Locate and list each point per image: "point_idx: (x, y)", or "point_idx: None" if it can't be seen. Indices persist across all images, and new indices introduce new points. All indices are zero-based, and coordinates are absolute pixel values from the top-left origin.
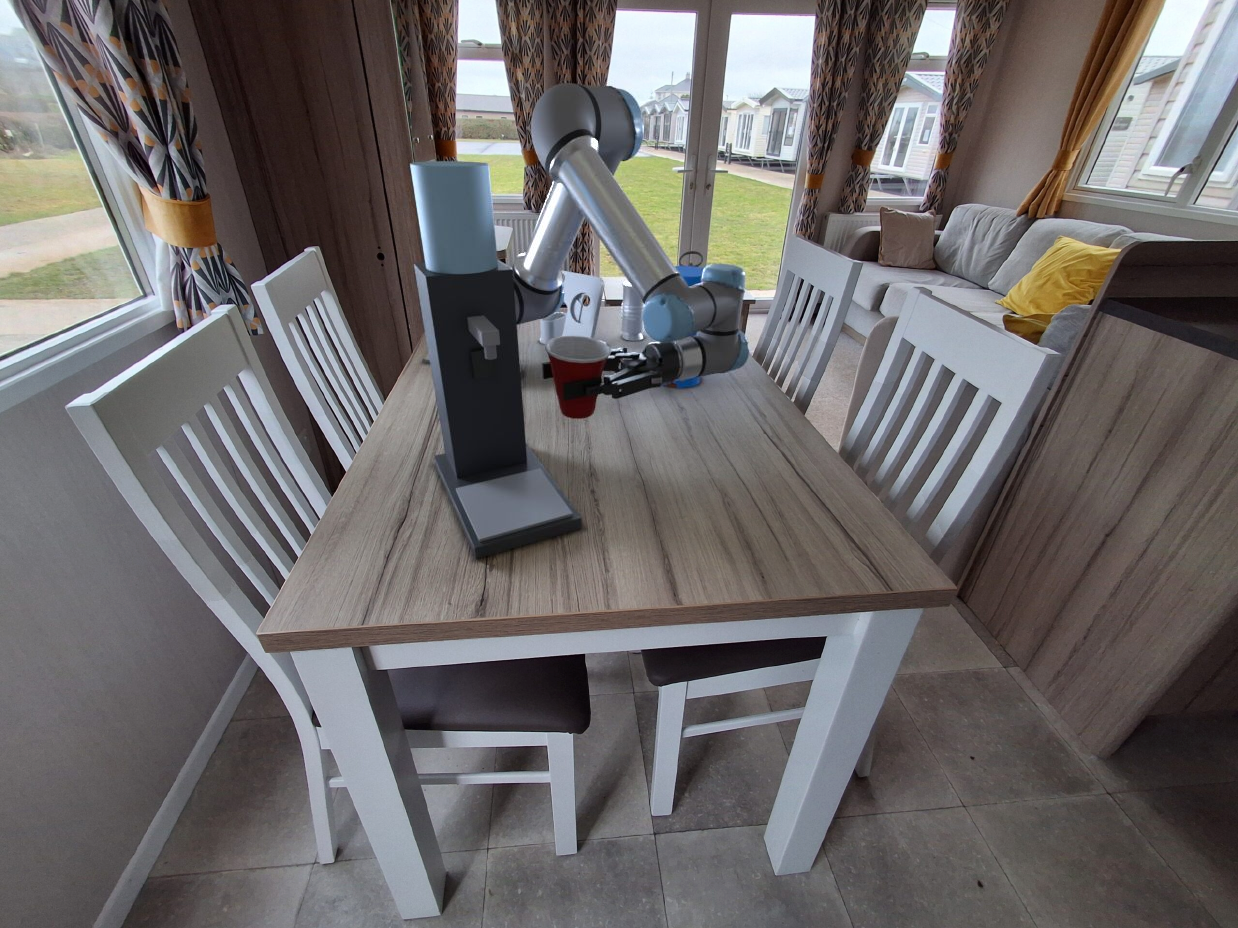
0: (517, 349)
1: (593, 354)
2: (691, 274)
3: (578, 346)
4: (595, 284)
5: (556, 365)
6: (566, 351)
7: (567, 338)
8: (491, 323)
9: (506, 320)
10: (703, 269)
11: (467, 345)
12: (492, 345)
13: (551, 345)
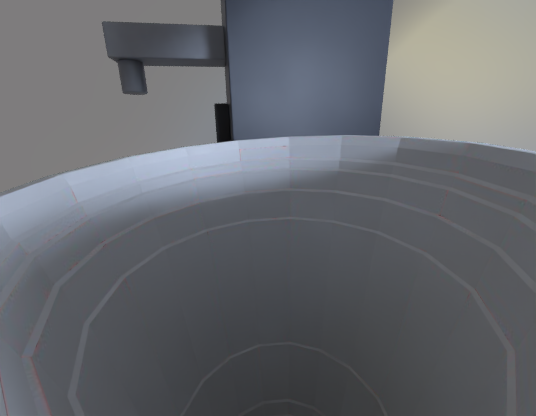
0: (231, 116)
1: None
2: None
3: (528, 253)
4: None
5: (219, 201)
6: (441, 238)
7: (489, 160)
8: (157, 23)
9: (225, 27)
10: None
11: (227, 97)
12: (115, 60)
13: (362, 159)
